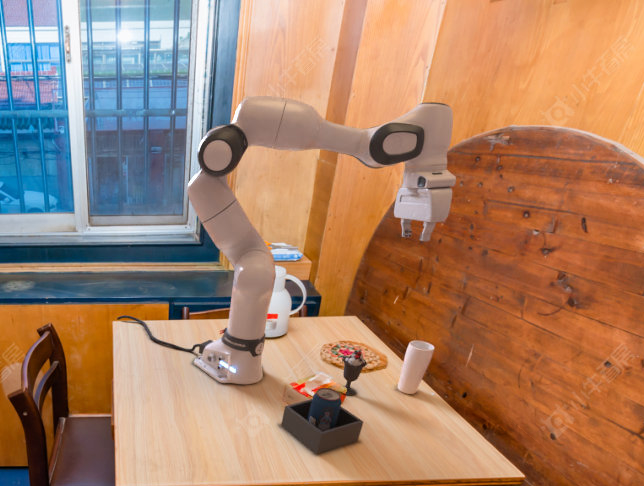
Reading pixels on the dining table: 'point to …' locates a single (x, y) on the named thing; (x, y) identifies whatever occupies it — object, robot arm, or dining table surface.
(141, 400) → the dining table surface
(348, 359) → the sundae
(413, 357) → the white tall cylinder
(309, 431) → the tub
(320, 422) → the soda can
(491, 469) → the dining table surface
